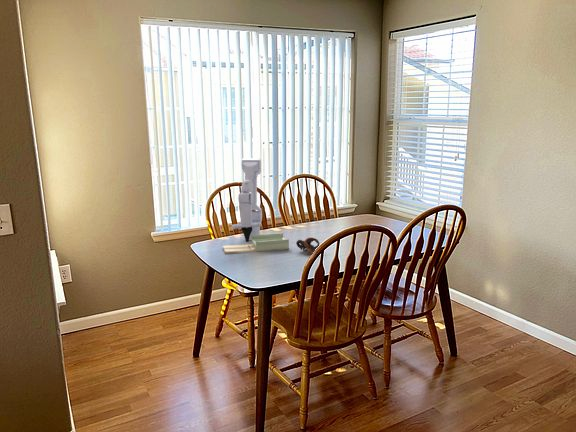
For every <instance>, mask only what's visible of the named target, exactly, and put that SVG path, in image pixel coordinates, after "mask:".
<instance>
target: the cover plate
mask: <svg viewBox="0 0 576 432" xmlns="http://www.w3.org/2000/svg"><path fill="white" fill-rule="evenodd" d="M222 249H223V252H224V254H225V255H232V254H244V253H254V252H256V249H255V248H254V246H253V244H252V243H243V244H229V245H222ZM256 253H257V252H256Z"/></svg>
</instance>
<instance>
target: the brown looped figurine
mask: <svg viewBox="0 0 576 432" xmlns="http://www.w3.org/2000/svg"><path fill="white" fill-rule="evenodd" d="M312 242H315V243H316V244H317V245H316V246H315V245H313V244H312ZM295 243H296V246H297V247H298V248H299V249H300V250H301V251H304V250H307V251H306V254H307V255H311V254H313V253H314V251H315V249H316V248H317V247H318V246H319V245H320V241H319V240H318V239H317V238H316V237H307V238H306V239H304V240H302V239H298V240H297V241H296V242H295Z"/></svg>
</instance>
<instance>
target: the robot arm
mask: <svg viewBox="0 0 576 432" xmlns="http://www.w3.org/2000/svg"><path fill="white" fill-rule="evenodd" d="M241 170H242V172H243V174H244V180H243V181H242V183H241V188H240V189H241V190H240V193H238V203H239V205H238V206H239V212H240V223H236V224H235V223H234V224H231V229H232V230H235V229H236V230H237V229H238V230H239V229H241V231H242V233H243V236H244V241H245V243H248V242H249V241H252V235H261V229H260V228H261V227H262V223H261V222H262V220H263V211H262V210H263V208H261V207H260V206H259V205H258V203H257V202H258V196H257V195H258V175H261V173H262V160H261V159H260V158H242V159H241Z"/></svg>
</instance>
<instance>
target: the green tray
mask: <svg viewBox="0 0 576 432" xmlns="http://www.w3.org/2000/svg"><path fill="white" fill-rule="evenodd" d="M251 244H253V246H254V248H255V249H256V253H260V252H270V251H273V252H274V251H281V250H283V251H284V250H289V249H290V239H289V238H285V237H284V232H279V233H263V234H262V233H261V234H260V235H252V240H251Z"/></svg>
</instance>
